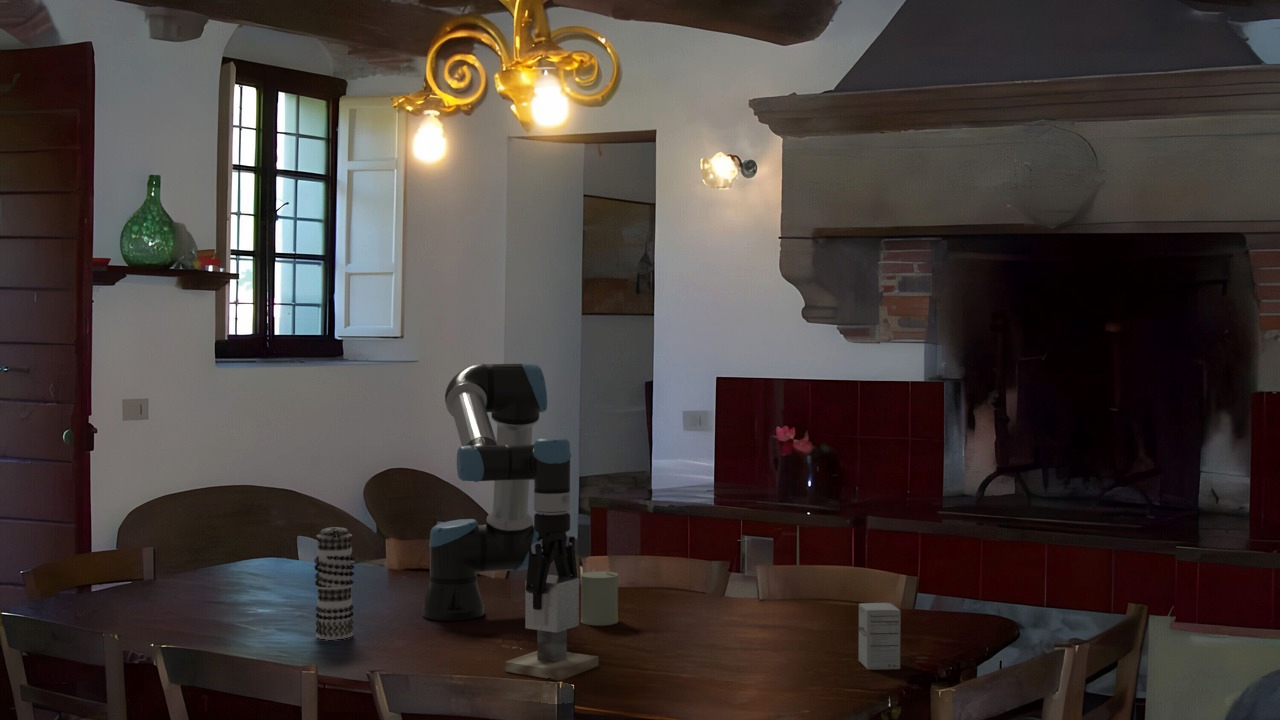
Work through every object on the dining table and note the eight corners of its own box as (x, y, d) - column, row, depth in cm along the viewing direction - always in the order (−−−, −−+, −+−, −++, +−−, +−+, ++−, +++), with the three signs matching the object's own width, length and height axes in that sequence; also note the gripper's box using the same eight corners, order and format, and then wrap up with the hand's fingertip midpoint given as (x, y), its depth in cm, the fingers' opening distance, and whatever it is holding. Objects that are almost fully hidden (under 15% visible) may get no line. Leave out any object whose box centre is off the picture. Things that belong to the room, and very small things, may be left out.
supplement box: (857, 661, 286) (857, 602, 286) (891, 660, 287) (891, 602, 287) (866, 670, 279) (866, 609, 279) (901, 669, 279) (901, 609, 279)
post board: (504, 671, 277) (504, 628, 277) (544, 657, 289) (544, 616, 289) (560, 680, 270) (560, 636, 270) (598, 666, 282) (598, 623, 282)
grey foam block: (525, 628, 278) (525, 580, 278) (547, 621, 285) (547, 574, 284) (556, 632, 274) (556, 583, 273) (578, 625, 280) (578, 578, 280)
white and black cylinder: (362, 633, 312) (362, 526, 312) (341, 642, 303) (341, 532, 303) (328, 630, 315) (328, 524, 315) (306, 639, 306) (306, 530, 306)
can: (613, 626, 320) (613, 576, 320) (576, 624, 322) (576, 575, 322) (622, 618, 329) (622, 570, 329) (585, 616, 331) (585, 568, 331)
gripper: (537, 519, 268) (537, 632, 268) (594, 508, 286) (594, 614, 286) (507, 516, 272) (507, 628, 272) (565, 506, 290) (565, 610, 290)
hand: (552, 621), depth 279 cm, fingers closed on grey foam block, 8 cm apart
